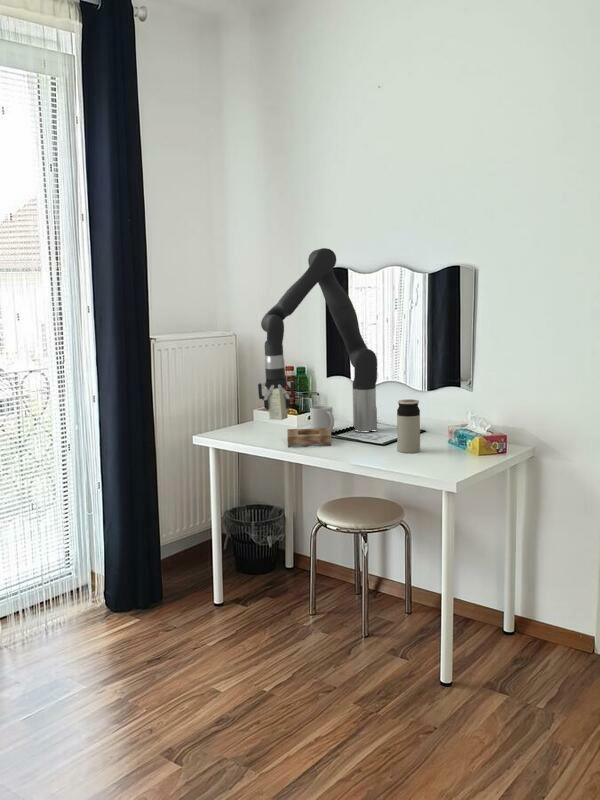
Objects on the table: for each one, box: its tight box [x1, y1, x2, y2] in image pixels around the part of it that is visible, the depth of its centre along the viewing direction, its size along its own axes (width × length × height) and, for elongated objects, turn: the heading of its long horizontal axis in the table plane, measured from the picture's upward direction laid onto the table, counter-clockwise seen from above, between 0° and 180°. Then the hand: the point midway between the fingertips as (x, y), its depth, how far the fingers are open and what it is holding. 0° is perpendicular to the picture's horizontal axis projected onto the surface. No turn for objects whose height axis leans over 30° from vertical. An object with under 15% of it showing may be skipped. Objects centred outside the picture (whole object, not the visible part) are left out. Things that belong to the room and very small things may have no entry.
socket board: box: [286, 428, 332, 448], centre depth 303 cm, size 16×14×4 cm
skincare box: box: [266, 387, 289, 421], centre depth 310 cm, size 6×4×12 cm
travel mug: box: [396, 398, 421, 454], centre depth 283 cm, size 8×8×18 cm
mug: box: [309, 404, 335, 434], centre depth 321 cm, size 11×10×10 cm
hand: (277, 408), depth 310 cm, fingers closed on skincare box, 7 cm apart
